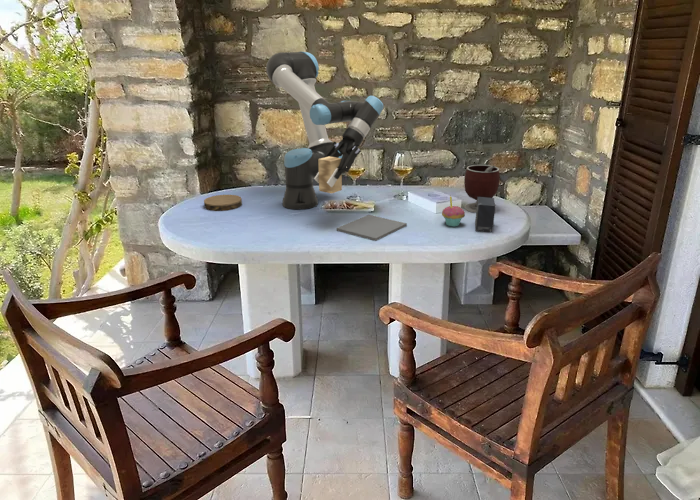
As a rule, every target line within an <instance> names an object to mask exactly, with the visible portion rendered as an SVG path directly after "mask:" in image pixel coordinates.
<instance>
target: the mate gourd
mask: <svg viewBox="0 0 700 500" xmlns="http://www.w3.org/2000/svg"><path fill="white" fill-rule="evenodd" d="M500 180H501V179H500V167H497V166H495V165H488V164H473V165H469V166H467V167H466V170H465V175H464V181H463V183H464V191H465V193H466V195H467V196H468V197H469V198H471V199H473V200H475V202H472V203H467V204H465V205H464V211H467V212H470V213H475V214H476V210H477V199H478V197H487V198H494V197H495V195H496V194H497V192H498V190H499V186H500Z"/></svg>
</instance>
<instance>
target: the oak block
mask: <svg viewBox="0 0 700 500" xmlns="http://www.w3.org/2000/svg"><path fill="white" fill-rule="evenodd" d="M340 162H341V158H336V157H330V156H328V157H325V158H321V159H318V164H319V183H318V191H319V192H323V193H327V194H334V193H337V192H340V191H343V183H342V181H343V180H342V179H343V178H342V177H343V173H342V174H341V176H340V177H339V179H337V181H336V182H335V184H334V185H333V187H330V186H329V185H328V184H327V181H328V180H329V178H330V177H331V175H332V174H333V172H334V171H335V169H336V168H337V167H338V166H339V164H340ZM337 169H338V168H337Z"/></svg>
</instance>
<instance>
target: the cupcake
mask: <svg viewBox="0 0 700 500" xmlns="http://www.w3.org/2000/svg"><path fill="white" fill-rule="evenodd" d="M441 212H442V213H441V216H442V217H443V218H444V220H445V225H446V226H447V227H458V226H459V225H460V223H461V221H462V219H463V218H464V217H465V215H466V212H465V209H463V208H462V207H460V206H457V205H453V200H452V196H451V194H450V195H449V206H446V207H444V208H443V209H442V211H441Z"/></svg>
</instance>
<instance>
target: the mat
mask: <svg viewBox="0 0 700 500" xmlns="http://www.w3.org/2000/svg"><path fill="white" fill-rule="evenodd" d="M407 226H408V224H407V223H406V222H402V221H398V220H394V219H389V218H385V217H380V216H376V215H374V214H373V215H371V214H367V215H365V216H363V217H360V218H358V219H355V220H353V221H350V222H348V223H345V224H344V225H341V226H338V227H336V231H337V232H341V233H344V234H348V235H352V236H355V237H359V238H363V239H367V240H371V241H375V242H376V241H379V240H380V239H383V238H384V237H387V236H389V235H391V234H393V233H395V232H398V231H399V230H402V229H404V228H405V227H407Z"/></svg>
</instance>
